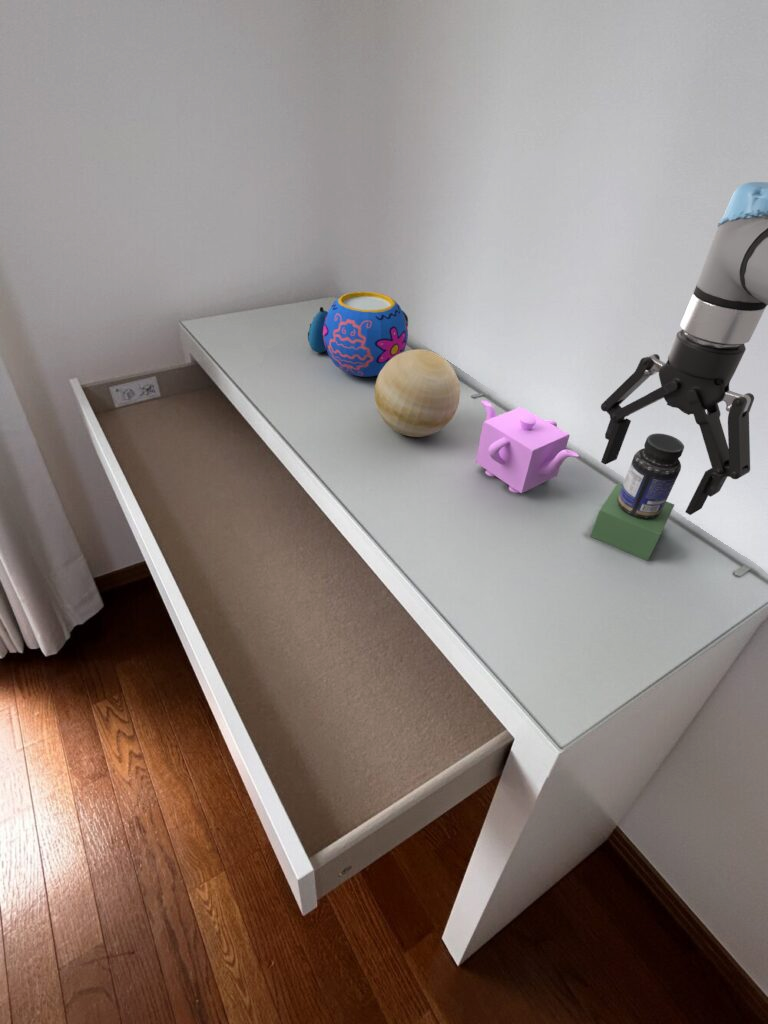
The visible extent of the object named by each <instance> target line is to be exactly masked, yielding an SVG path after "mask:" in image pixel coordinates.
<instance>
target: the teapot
mask: <svg viewBox="0 0 768 1024" xmlns="http://www.w3.org/2000/svg"><path fill="white" fill-rule="evenodd" d="M480 402H481V404H482V405H483V407H484V409H485V414H486V418H485V419H486V420H485V419H484V421H483V422H482V427H481V431H480V437H479V442H478V447H477V452H476V458H475V463H476V464H478V465H479V466H480V467H482V468H483V469H485V475H487V476H489V477H494V478H495V477H496V478H498V479H499V480H501V481H502V482H504V483H505V484H507V485H508V490H509V491H510V492H511V493H515V494H519V493H520V494H523V493H525V492H528V491H530V490H531V489H533V488H536V487H537V486H540V485H541V484H543V483H546V482H548V481H550V480H552V479H554V478H556V477H558V474H559V472H560V468H561V466H562V465H563V463H564V462H565V461H566V459H567V458H570V457H571V458H572V457H574V458H575V457H576V458H577V457H579V456H580V455H579V453H577V452H576V451H573V450H571V449H566V448H567V445H568V443H569V439H570V434H569V433H568V432H566V431H564V430H563V429H561V428H559V427H558V423H557V422H556V421H555V420H554V419H553V420H552V419H546V420H545V419H544V418H541V417H540V416H538V415H536V414H535V413H532V412H531V411H529V410H528V409H525V408H523V407H521V406H519V407H517V408H514V409H511V410H509V411H507V412H504V413H500V414H498V415H497V414H496V411H495V410H496V409H495V408H494V405H492V403H490V402H489V401H487V400H486V399H480Z"/></svg>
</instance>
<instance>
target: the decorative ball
mask: <svg viewBox="0 0 768 1024" xmlns="http://www.w3.org/2000/svg"><path fill="white" fill-rule="evenodd" d="M460 398H461V386H460V380H459V378H458V376H457V372H456V371H455V369H454V367H453V366H452V365H451V364H450V362H448V361H447V359H445V357H443V356H442V355H440V354H438V353H435V352H434V351H430V350H428V349H421V348H420V349H419V348H418V349H409V350H404V352H402V353H400V354H398V355H396V356H394V357H393V358H392V359H391V360H389V361H388V362H387V363H386V364H385V366H384V367H383V368H382V370H381V371H380V373H379V375H377V377H376V380H375V385H374V403H375V407H376V410H377V412H378V414H379V416H380V417H381V419H382V421H383V422H384V423H385V424H386V425H387V426H388V427H389V428H391V429H392V430H393V431H395V432H396V433H399V434H401V435H404V436H408V437H411V438H412V437H413V438H421V437H422V438H423V437H427V436H430V435H434V434H435V433H437V432H439V431H441V430H442V429H444V427H446V426H447V424H449V422H451V421H452V420H453V418H454V416H455V414H456V412H457V410H458V407H459V405H460Z"/></svg>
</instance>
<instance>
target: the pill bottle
mask: <svg viewBox="0 0 768 1024" xmlns="http://www.w3.org/2000/svg"><path fill="white" fill-rule="evenodd" d="M643 446H644V448H641V449H639V450H637V452H635V453H634V455H633V458H632V460H631V463H630V466H629V468H628V470H627V473H626V475H625V478H624V481H623V483H622V485H623V486H622V488H621V491H620V493H619V496H618V498H617V502H618V505H619V507H620V508H621V509H622V510H623V511H624V512H626V513H627V514H629V515H632V516H635V517H638V518H643V519H652V518H655V517H657V516H658V515H659V514H660V513H661V511H662V509H663V507H664V505H665V503H666V501H667V500H668V499H669V496H670V494H671V491H672V490H673V487H674V485H675V484H676V480H677V479H678V477H679V474H680V472H681V470H682V463H681V461H680V458H681V457H682V455H683V452H684V449H685V445H684V443H683V442H682V441H681V440H680V439H678V438H677V437H674V436H673V435H669V434H665V433H658V432H657V433H652V434H649V435H648V436H647V437H646V440H645V442H644V445H643Z"/></svg>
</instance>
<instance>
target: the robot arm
mask: <svg viewBox="0 0 768 1024" xmlns="http://www.w3.org/2000/svg"><path fill="white" fill-rule="evenodd" d="M767 306H768V182H767V181H766V182H765V181H751V182H749V181H748V182H746V183H742V184H741V185H740V186H738V187H737V188H736V189H735V190H734V191H733V194H732V195H731V197H730V200H729V202H728V204H727V207H726V209H725V211H724V214H723V215H722V218H721V219H720V220H719V221H718V223H717V228H716V231H715V234H714V235H713V239H712V241H711V244H710V247H709V250H708V252H707V255H706V258H705V260H704V263H703V266H702V268H701V271H700V274H699V276H698V279H697V281H696V285H695V288H694V290H693V292H692V295H691V297H690V300H689V302H688V305H687V307H686V310H685V312H684V315H683V317H682V319H681V321H680V325H679V326H680V328H681V330H679V331H678V332H676V335H675V338H674V340H673V343H672V345H671V347H670V350H669V353H668V355H667V361H666V362H664V361H662V360H661V358H660V355H659V354H658V353H654V354H653V353H652V354H650V355H647V356H645V357H642V358H641V359H640V360H639V363H638V364H637V367H636V369H635V371H634V372H633V373H632V374H631V375H630V376H628V378H627V379H626V380H624V382H623V383H622V384H621V385H620V386H619V387H617V388H616V389H615V390H614V391H613V393H612V394H611V395H609V396H608V397H607V398H606V399H605V400H604V401H603V402H602V403H601V404H600V409H601V411H602V412H606V413H607V414H608V415H609V422H608V425H607V428H606V431H605V434H604V439H606V440H608V441H607V444H606V447H605V450H604V452H603V455H602V458H601V461H600V463H601V464H603V465H607V464H609V463H610V464H611V462H614V461H616V460H617V459H618V456H619V454H620V451H621V449H622V446H623V443H624V441H625V438H626V436H627V433H628V430H629V428H630V425H631V422H632V420H631V419H629V418H626V417H628V416H630V415H633V414H634V413H636V412H638V411H641V410H642V409H644V408H646V407H648V406H650V405H652V404H654V403H656V402H658V401H661V400H662V399H664V400H665V403H666V405H667V406H669V407H670V408H676V409H678V410H679V411H681V412H682V413H684V414H686V415H687V416H690V415H693V417H694V421H695V423H696V424H697V425H698V426H699V429H700V432H701V435H702V440H703V442H704V446H705V449H706V452H707V456H708V459H709V462H710V465H711V468H709V469H707V470H705V471H704V474H703V475H702V476H701V479H700V481H699V484H698V485H697V487H696V489H695V491H694V493H693V496H692V497H691V500H690V501H689V503H688V505H687V508H686V510H685V512H684V513H685V514H687V515H689V516H691V515H693V514H695V513H696V512H698V511H700V510H702V508H703V506H704V505H705V503H706V501H707V499H708V497H713V496H714V495H716V494H719V492H721V489H722V487H723V486H724V484H725V482H726V480H727V478H728V477H729V478H731V479H732V480H739V479H740V478H742V477H744V476H746V475H747V474H748V473H750V471H751V444H750V443H751V442H750V441H751V439H750V411H751V408H752V406H753V403H754V401H755V395H754V394H753V393H751V392H747V393H744V394H741V393H738V392H736V391H735V392H734V391H732V390H730V383H731V381H732V378H733V377H734V375H735V373H736V371H737V369H738V367H739V366H740V364H741V363H740V362H741V361H742V359H743V356H744V354H745V352H746V350H747V349H746V346H745V344H747V343H749V342H750V340H751V339H752V337H753V335H754V333H755V330H756V328H757V326H758V324H759V323H760V321H761V318H762V316H763V314H764V312H765V310H766V307H767ZM656 374H658V377H659V381H660V387H659V388H656V389H655V390H652V391H650V392H649V393H648V394H645V395H643V396H641V397H640V398H637V399H636V400H634V401H632V402H630V403H627V404H626V405H625V406H623V407H622V406H621V404H622V403H623V402H625V401H626V399H627V398H629V397H630V395H632V394H633V393H634V392H635V391H636V390H637V389H638V388H639V387H641V385H642V384H644V383H645V381H646V380H648V379H649V378H650V377H651V376H654V375H656ZM721 402H725V404H726V405H725V406H726V407H725V411H726V412H728V414H727V439H728V443H727V439H726V435H725V432H724V429H723V425H722V422H721V419H720V418H721V410H720V407H719V403H721Z"/></svg>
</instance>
